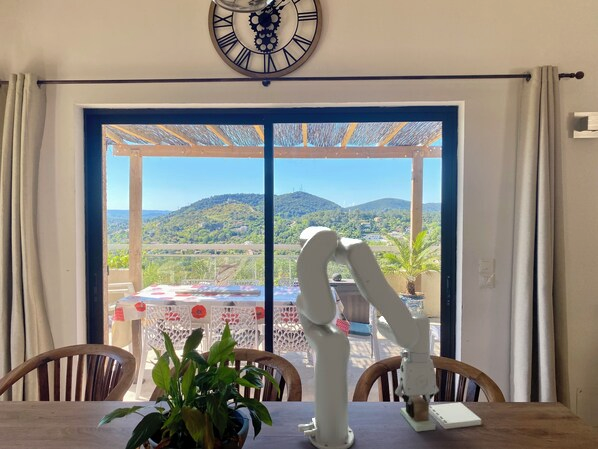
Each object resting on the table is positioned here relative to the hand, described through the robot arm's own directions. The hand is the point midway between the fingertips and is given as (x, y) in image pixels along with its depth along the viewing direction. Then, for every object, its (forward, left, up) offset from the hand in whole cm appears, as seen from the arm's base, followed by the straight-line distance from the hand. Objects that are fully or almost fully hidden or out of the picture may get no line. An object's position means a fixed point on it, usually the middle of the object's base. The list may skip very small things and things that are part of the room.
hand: (417, 413), depth 104 cm
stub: (0, 0, -2) cm, 2 cm away
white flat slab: (+12, 0, -2) cm, 12 cm away
